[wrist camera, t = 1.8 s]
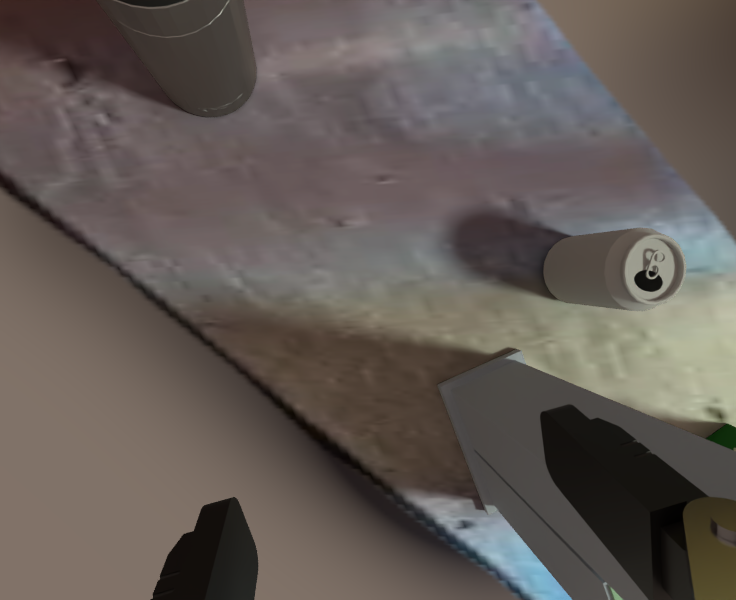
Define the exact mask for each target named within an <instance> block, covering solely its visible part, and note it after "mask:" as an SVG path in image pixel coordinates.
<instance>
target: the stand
mask: <svg viewBox="0 0 736 600" xmlns="http://www.w3.org/2000/svg"><path fill="white" fill-rule="evenodd" d="M437 386H438V389H439V391H440V394H441V396H442V399H443V402H444V404H445V407H446V410H447V412H448V415H449V418H450V420H451V423H452V426H453V428H454V431H455V433H456V436H457V439H458V441H459V444H460V447H461V449H462V452H463V455H464V457H465V460H466V462H467V465H468V468H469V470H470V473H471V476H472V478H473V481H474V484H475V486H476V489H477V492H478V494H479V497H480V499H481V502H482V505H483V507H484V510H485V512H486V513H487V514H488V515H490V514H492V513H494V512H496V511H499V512H500V513H501V514H502V516H503V517H504V518H505V519H506V520H507V522H508V523H509V524H510V525H511V526H512V528H513V529H514V530H515V531H516V532H517V534H518V535H519V536H520V537H521V538H522V540H523V541H524V542H525V543H526V544H527V546H528V547H529V548H530V549H531V550H532V552H533V553H534V554H535V555H536V556H537V558H538V559H539V560H540V561H541V562H542V564H543V565H544V566H545V567H546V568H547V570H548V571H549V572H550V573H551V574H552V576H553V577H554V578H555V579H556V580H557V582H558V583H559V584H560V585H561V586H562V588H563V589H564V590H565V591H566V592H567V594H568V595H569V596H570V597H571V598H572V600H648V598H647V597H646V596H645V595H644V594H643V592H642V591H641V590H640V589H639V587H638V586H637V585H636V584H635V582H634V581H633V580H632V579H631V578H630V576H629V575H628V574H627V573H626V571H625V570H624V569H623V568H622V566H621V565H620V564H619V563H618V562H617V560H616V559H615V558H614V557H613V555H612V554H611V553H610V552H609V550H608V549H607V548H606V547H605V545H604V544H603V543H602V542H601V541H600V539H599V538H598V537H597V536H596V534H595V533H594V532H593V531H592V529H591V528H590V527H589V526H588V525H587V523H586V522H585V521H584V520H583V518H582V517H581V516H580V515H579V513H578V512H577V511H576V510H575V509H574V507H573V506H572V505H571V504H570V502H569V501H568V500H567V499H566V497H565V496H564V495H563V494H562V493H561V491H560V490H559V489H558V488H557V486H556V485H555V483H554V482H553V480H552V478H551V476H550V474H549V472H548V469H547V466H546V462H545V455H544V447H543V439H542V431H541V423H540V414H541V412H542V411H546V410H549V409H553V408H556V407H560V406H564V405H567V404H571V405H573V406H575V407H576V408H577V409H578V410H579V411H581V412H582V413H583V414H584V415H585V416H587V417H588V418H589V419H590V420H591V419H594V418H600V419H603V420H605V421H608V422H610V423H612V424H615V425H617V426H620V427H621V428H622V429H624V430H625V431H626V432H627V433H629V434H630V435H631V436H633V437H634V438H635V439H636V440H637V442H638V443H639V442H640V443H641V444H643V445H644V446H645V447H647V448H648V449H649V450H650V451H651V453H652V454H655V455H657V456H658V457H659V458H661V459H662V460H663V461H664V462H666V463H667V464H668V465H670V466H671V467H672V468H673V469H675V470H676V471H677V472H678V473H680V474H681V475H682V476H684V477H685V478H686V479H687V480H689V481H690V482H691V483H692V484H694V485H695V486H696V487H698V488H699V489H700V490H701V491H703V492H704V493H705V494H706V495H708V496H709V497H720V498H726V499H731V500H735V501H736V451H733V450H731V449H729V448H726V447H724V446H721V445H719V444H717V443H714V442H712V441H709V440H707V439H704V438H702V437H700V436H697V435H695V434H692V433H690V432H687V431H685V430H683V429H680V428H678V427H675V426H673V425H671V424H668V423H666V422H663V421H661V420H658V419H656V418H654V417H651V416H649V415H646V414H644V413H642V412H639V411H637V410H634V409H632V408H629V407H627V406H625V405H622V404H620V403H617V402H615V401H613V400H610V399H608V398H605V397H603V396H600V395H598V394H596V393H593V392H591V391H588V390H586V389H583V388H581V387H579V386H576V385H574V384H571V383H569V382H567V381H564V380H562V379H559V378H557V377H554V376H552V375H550V374H547V373H545V372H542V371H540V370H538V369H535V368H533V367H530V366H528V365H526V363H525V360H524V357H523V354H522V351H521V350H518V349H516V350H513V351H511V352H509V353H507V354H504V355H502V356H500V357H498V358H496V359H493V360H491V361H489V362H487V363H484V364H482V365H480V366H478V367H475V368H473V369H471V370H469V371H466V372H464V373H462V374H460V375H457V376H455V377H453V378H451V379H448V380H446V381H444V382H442V383H440V384H437Z"/></svg>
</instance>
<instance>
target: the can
mask: <svg viewBox="0 0 736 600" xmlns="http://www.w3.org/2000/svg"><path fill="white" fill-rule="evenodd" d="M543 274H544V279H545V284H546V285H547V287H548V289H549V291H550V293H552V294H553V295H554V296H555V297H556V298H557V299H559V300H561V301H563V302H566V303H573V304H581V305H589V306H598V307H606V308H614V309H623V310H631V311H646V310H649V309H652V308H655V307H656V306H658V305H660V304H664V303H666V302H668V301H669V300H670V299H672V298H673V297H674V296H675V295H676V294H677V293H678V291H679V290H680V289H681V287H682V284H683V282H684V279H685V274H686V262H685V256H684V254H683V252H682V250H681V248H680V246H679V245H678V244H677V243H676V242H675V241H674V240H673V239H672V238H670V237H668V236H666V235H664V234H661V233H659V232H657V231H655V230H653V229H648V228H634V229H626V230H618V231H610V232H602V233H594V234H586V235H578V236H571V237H568V238H564V239H562V240H560V241H559V242H557V243H556V244H554V246H553V247H552V248H551V249H550V251H549V252H548V254H547V257H546V259H545V262H544V270H543Z"/></svg>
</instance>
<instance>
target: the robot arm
mask: <svg viewBox="0 0 736 600" xmlns="http://www.w3.org/2000/svg"><path fill="white" fill-rule="evenodd" d="M96 1H97V2H98V4H99V5H100V6H101V8H102V9H103V10H104V12H105V13H106V14H107V16H108V17H109V18H110V20H111V21H112V22H113V24H114V25H115V26H116V28H117V29H118V30H119V32H120V33H121V34H122V36H123V37H124V38H125V40H126V41H127V42H128V44H129V45H130V46H131V48H132V49H133V50H134V52H135V53H136V54H137V56H138V57H139V58H140V60H141V61H142V62H143V64H144V65H145V66H146V68H147V69H148V70H149V72H150V73H151V75H152V76H153V77H154V79H155V80H156V81H157V83H158V84H159V85H160V87H161V88H162V89H163V91H164V92H165V93H166V95H167V96H168V97H169V98H170V99H171V100H172V101H173V102H174V103H175V104H176V105H177V106H179V107H180V108H182V109H183V110H185V111H187V112H189V113H192V114H194V115H198V116H203V117H219V116H224V115H227V114H229V113H232V112H234V111H236V110H237V109H238V108H240V107H241V106H242V105H243V104H244V103H245V102H246V101H247V99H248V98H249V97H250V95H251V93H252V91H253V89H254V86H255V82H256V63H255V57H254V52H253V47H252V41H251V36H250V31H249V26H248V21H247V16H246V11H245V6H244V1H243V0H96ZM540 423H541V431H542V439H543V447H544V455H545V462H546V466H547V469H548V472H549V474H550V476H551V478H552V480H553V482H554V483H555V485H556V486H557V488H558V489H559V490H560V491H561V493H562V494H563V495H564V496H565V497H566V499H567V500H568V501H569V502H570V504H571V505H572V506H573V507H574V509H575V510H576V511H577V512H578V513H579V515H580V516H581V517H582V518H583V520H584V521H585V522H586V523H587V525H588V526H589V527H590V528H591V529H592V531H593V532H594V533H595V534H596V536H597V537H598V538H599V539H600V541H601V542H602V543H603V544H604V545H605V547H606V548H607V549H608V550H609V552H610V553H611V554H612V555H613V557H614V558H615V559H616V560H617V562H618V563H619V564H620V565H621V566H622V568H623V569H624V570H625V571H626V573H627V574H628V575H629V576H630V578H631V579H632V580H633V581H634V582H635V584H636V585H637V586H638V587H639V589H640V590H641V591H642V592H643V594H644V595H645V596H646V597H647V598H648V600H736V501H735V500H731V499H726V498H720V497H709V496H708V495H706V494H705V493H704V492H703V491H701V490H700V489H699V488H698V487H696V486H695V485H694V484H692V483H691V482H690V481H689V480H687V479H686V478H685V477H684V476H682V475H681V474H680V473H678V472H677V471H676V470H675V469H673V468H672V467H671V466H670V465H668V464H667V463H666V462H664V461H663V460H662V459H661V458H659V457H658V456H657V455H655V454H652V453H651V451H650V450H649V449H648V448H647V447H645V446H644V445H643V444H641V443H640V442H639V443H638V442H637V440H636V439H635V438H634V437H633V436H631V435H630V434H629V433H627V432H626V431H625V430H624V429H622V428H621V427H620V426H617V425H615V424H612V423H610V422H608V421H605V420H603V419H600V418H594V419H591V420H590V419H589V418H588V417H587V416H585V415H584V414H583V413H582V412H581V411H579V410H578V409H577V408H576V407H575V406H573V405H571V404H567V405H564V406H560V407H556V408H553V409H549V410H546V411H542V412H541V414H540ZM257 575H258V556H257V550H256V546H255V542H254V540H253V537H252V535H251V532H250V530H249V527H248V524H247V522H246V519H245V517H244V514H243V512H242V509H241V506H240V504H239V502H238V500H237V499H236V498H235V497H233V498H229V499H225V500H222V501H218V502H214V503H211V504H207V505H204V506H203V507H202V509H201V512H200V514H199V517H198V520H197V523H196V526H195V529H194V531H193V532H189V533H186V534H184V535H183V536H182V537H181V538H180V540H179V541H178V542H177V544H176V545H175V546H174V548H173V549H172V551H171V552H170V553H169V554H168V556H167V559H166V562H165V564H164V567H163V569H162V572H161V574H160V580H159V581H158V582H157V585H156V587H155V590H154V592H153V599H151V600H254V597H255V589H256V582H257Z"/></svg>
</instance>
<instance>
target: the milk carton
mask: <svg viewBox="0 0 736 600" xmlns="http://www.w3.org/2000/svg"><path fill="white" fill-rule="evenodd" d="M706 439H707V440H709V441H712V442H714V443H717V444H719V445H721V446H724V447H726V448H729V449H731V450H733V451H736V427H734V426H732V425H729V424H726V425H725V426H723V427H722V428H720V429H719V430H718V431H716V432H715V433H713V434H712V435H710V436H709V437H708V438H706Z"/></svg>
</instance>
